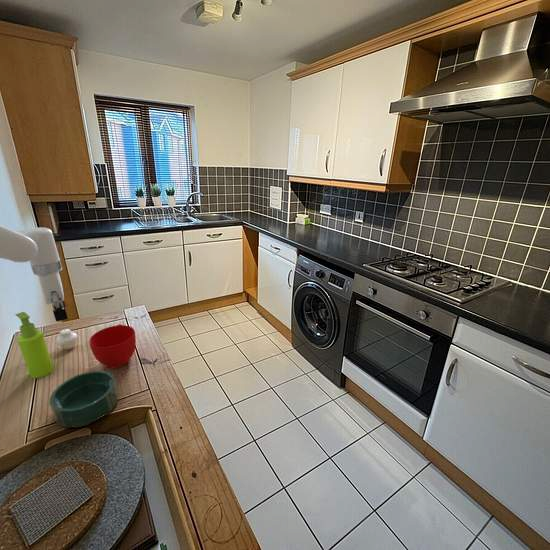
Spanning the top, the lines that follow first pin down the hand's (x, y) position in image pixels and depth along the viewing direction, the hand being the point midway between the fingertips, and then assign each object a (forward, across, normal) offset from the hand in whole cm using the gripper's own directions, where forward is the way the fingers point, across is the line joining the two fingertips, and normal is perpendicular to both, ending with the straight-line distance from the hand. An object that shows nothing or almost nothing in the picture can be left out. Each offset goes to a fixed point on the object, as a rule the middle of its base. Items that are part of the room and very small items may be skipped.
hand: (61, 313), depth 99 cm
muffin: (+13, 0, 0) cm, 13 cm away
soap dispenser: (+13, +10, -8) cm, 19 cm away
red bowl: (+13, +17, +12) cm, 25 cm away
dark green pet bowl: (+13, +35, +2) cm, 38 cm away
